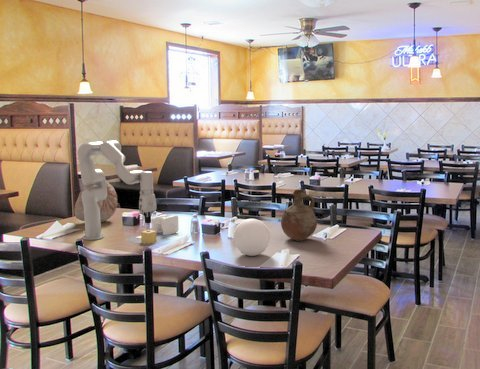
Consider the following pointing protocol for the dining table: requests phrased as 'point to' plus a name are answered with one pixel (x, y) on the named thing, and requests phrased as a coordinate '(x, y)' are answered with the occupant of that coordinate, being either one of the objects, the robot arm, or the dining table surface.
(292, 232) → the jug
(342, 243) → the dining table surface
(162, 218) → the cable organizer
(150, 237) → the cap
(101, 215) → the fossil
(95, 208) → the robot arm
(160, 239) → the board
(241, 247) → the sphere
